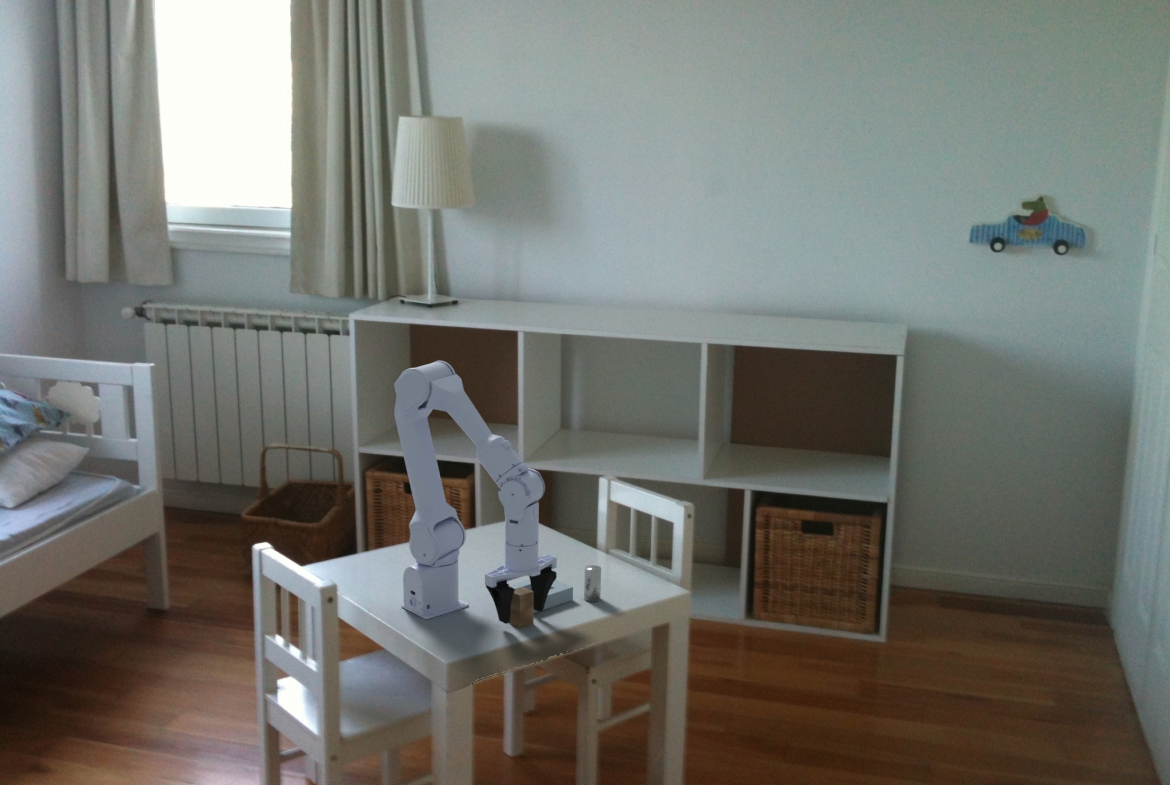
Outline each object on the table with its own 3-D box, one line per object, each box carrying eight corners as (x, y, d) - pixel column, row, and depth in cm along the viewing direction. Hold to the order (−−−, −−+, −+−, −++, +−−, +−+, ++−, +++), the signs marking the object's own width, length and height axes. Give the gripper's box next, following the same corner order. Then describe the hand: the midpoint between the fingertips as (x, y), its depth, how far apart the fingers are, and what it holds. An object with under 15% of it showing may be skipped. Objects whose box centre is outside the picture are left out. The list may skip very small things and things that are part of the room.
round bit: (591, 603, 206) (592, 572, 205) (580, 598, 208) (581, 567, 207) (603, 599, 208) (604, 568, 207) (592, 594, 210) (593, 564, 209)
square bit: (520, 628, 195) (520, 595, 194) (509, 623, 197) (509, 590, 196) (533, 624, 197) (533, 591, 196) (522, 618, 199) (522, 586, 198)
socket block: (531, 614, 201) (531, 600, 201) (502, 600, 207) (502, 588, 206) (572, 599, 208) (573, 587, 207) (544, 587, 213) (544, 575, 213)
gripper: (503, 556, 186) (503, 634, 189) (568, 537, 196) (567, 611, 199) (477, 545, 191) (477, 621, 194) (542, 527, 201) (541, 600, 204)
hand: (521, 615), depth 197 cm, fingers open, 7 cm apart
